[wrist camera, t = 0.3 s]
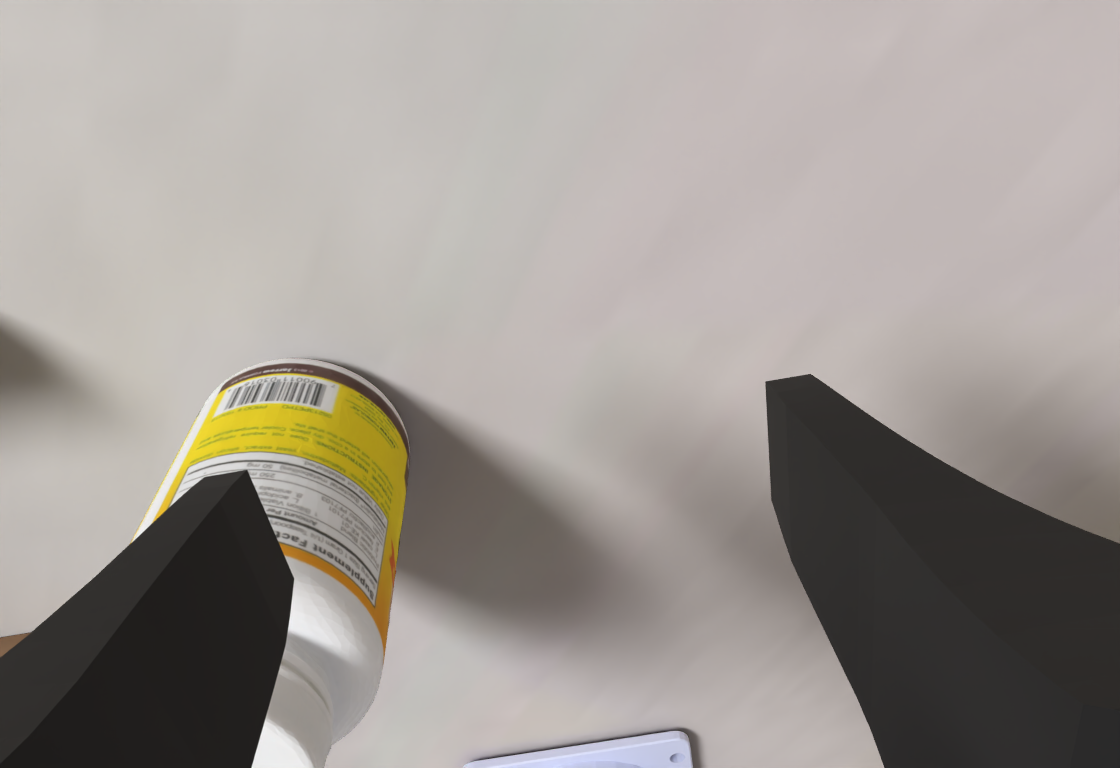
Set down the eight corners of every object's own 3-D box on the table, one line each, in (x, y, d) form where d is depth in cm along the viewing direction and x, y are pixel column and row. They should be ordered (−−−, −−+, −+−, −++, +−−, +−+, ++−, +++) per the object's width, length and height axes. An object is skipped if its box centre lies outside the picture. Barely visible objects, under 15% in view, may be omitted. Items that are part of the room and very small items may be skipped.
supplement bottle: (312, 549, 26) (216, 910, 17) (157, 428, 23) (-50, 776, 15) (457, 447, 24) (433, 787, 15) (306, 306, 22) (175, 615, 13)
